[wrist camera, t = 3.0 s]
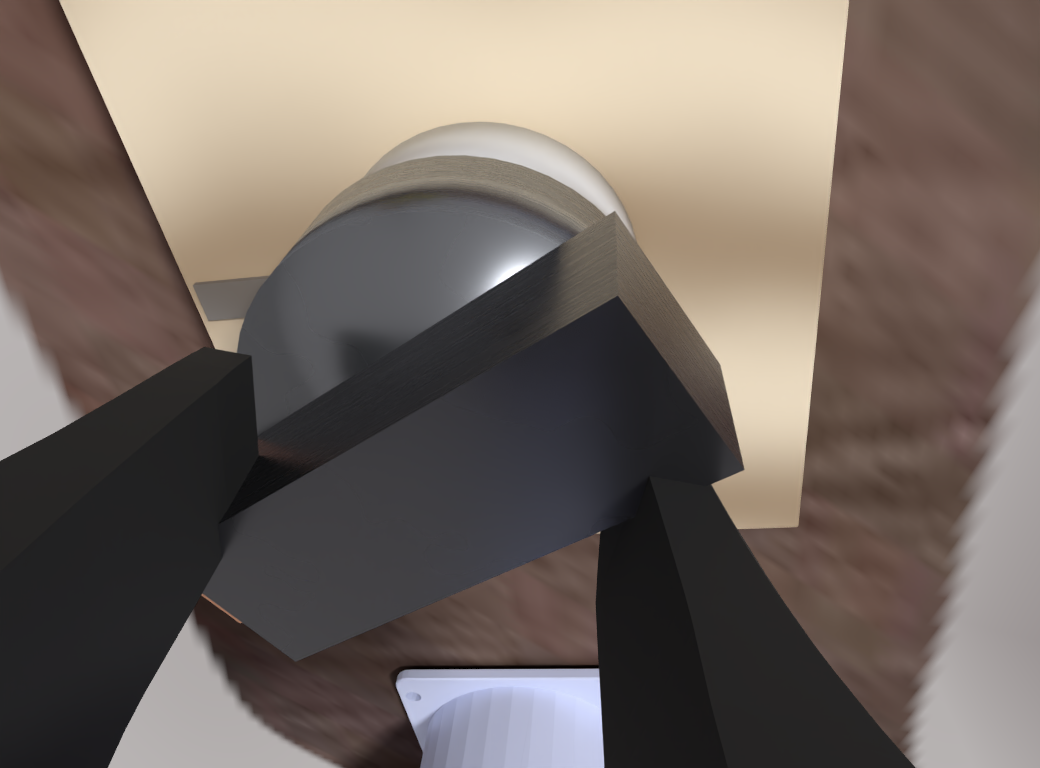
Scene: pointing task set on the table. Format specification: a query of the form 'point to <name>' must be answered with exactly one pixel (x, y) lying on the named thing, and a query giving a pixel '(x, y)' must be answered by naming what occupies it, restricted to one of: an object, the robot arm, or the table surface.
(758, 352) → the cream base plate
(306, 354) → the rotary knob
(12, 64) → the table surface
